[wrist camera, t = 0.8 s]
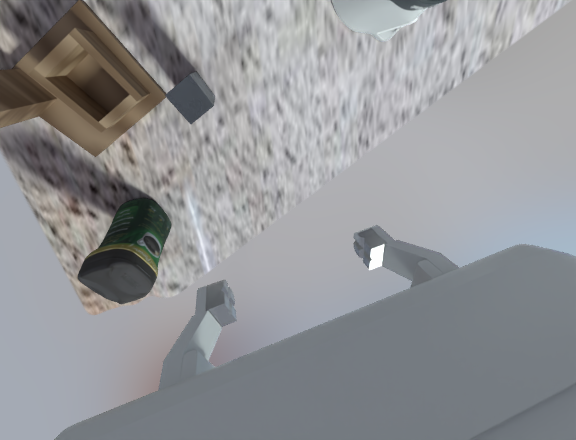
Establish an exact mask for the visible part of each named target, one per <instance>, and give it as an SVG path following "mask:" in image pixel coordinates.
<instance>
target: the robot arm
mask: <svg viewBox="0 0 576 440" xmlns="http://www.w3.org/2000/svg"><path fill="white" fill-rule="evenodd" d="M444 1H447V0H332V3H333V6H334V9H335V11H336V13H337V15H338V17H339V18H340V20H341V21H342V22H343V23H344V24H345V25H346V26H347V27H348V28H350V29H351V30H353V31H355V32H359V33H368V34H372V35H373V36H374V37H375V38H376V39H377V40H379V41H381V42H385V41H388V40H389V39H390V38H391V37H392V36H393V35H394V34H395V33H396V32H397V31H398V30H399V29H400V28H401V27H403V26H406V25H409V24H412V23H414V22H415V21H417V19H418V17H419V16H420V15H421V14H422V13H423V12H424V11H425V10H426V9H427V8H430V7H433V6H436V5H438V4H440V3H442V2H444ZM354 239H355V242H354V249H355V252H356V253H357V255H358V256H359V257H361V258H363V262H364V264H365V265H366V266H367V267H368V269H369V270H370V269H373V268H376V267H379V266H383V267H385V268H387V269H389V270H391V271H393V272H395V273H397V274H399V275H401V276H403V277H405V278H407V279H409V280H411V281H412V284H411V287H410V288H409V289H406V290H404V291H402V292H399V293H397V294H394V295H392V296H389V297H387V298H384V299H382V300H380V301H377V302H374V303H372V304H370V305H367V306H365V307H362V308H360V309H357V310H355V311H352V312H350V313H348V314H345V315H343V316H340V317H338V318H335V319H333V320H330V321H328V322H325V323H323V324H320V325H318V326H315V327H313V328H311V329H308V330H306V331H303V332H301V333H298V334H296V335H293V336H291V337H289V338H286V339H284V340H281V341H279V342H276V343H274V344H271V345H269V346H266V347H264V348H261V349H259V350H257V351H254V352H252V353H249V354H247V355H244V356H242V357H239V358H237V359H234V360H232V361H229V362H227V363H225V364H222V365H220V366H217V367H214V366H213V365H212V364H211V363H210V362H209V358H210V356H211V354H212V351H213V349H214V346H215V344H216V342H217V339H218V336H219V334H220V332H221V329H222V327H223V326H225V325H228V324H230V323H233V322H235V321H236V310H235V308H234V307H233V306H234V304H235V299H234V295H233V292H232V290H231V289H230V287H228V283H227V282H226V280H222V281H219V282H216V283H213V284H210V285H207V286H204V287H201V288H198V290H197V299H196V312H195V315H194V316H192V318H191V319H190V321H189V322H188V324H187V325H186V327H185V329H184V330H183V332H182V333H181V335H180V336H179V338H178V339H177V341H176V343H175V344H174V345H173V347H172V349H171V351H170V352H169V354H168V355H167V356H166V358H165V359H164V362H163V368H162V373H161V379H160V385H159V390H158V391H156V392H153V393H151V394H148V395H146V396H143V397H141V398H138V399H136V400H133V401H131V402H128V403H126V404H124V405H121V406H119V407H116V408H114V409H111V410H109V411H106V412H104V413H101V414H99V415H96V416H94V417H92V418H89V419H86V420H84V421H81V422H79V423H76V424H74V425H72V426H70V427H68V428H67V429H65V430H64V431H63V432H61V433H60V434H59V435H58V436H57V437H56V439H54V440H576V257H575V256H573V255H570V254H568V253H564V252H560V251H556V250H552V249H547V248H543V247H538V246H533V245H527V244H519V245H515V246H512V247H510V248H507V249H505V250H502V251H500V252H497V253H495V254H493V255H490V256H488V257H485V258H483V259H480V260H478V261H475V262H473V263H471V264H468V265H465V266H463V267H461V268H459V267H458V266H456V265H455V264H454V263H452V262H451V261H450V260H449V259H447V258H446V257H445V256H443V255H442V254H441V253H439V252H435V251H432V250H429V249H425V248H423V247H419V246H416V245H413V244H409V243H406V242H403V241H399V240H396V241H395V240H394V239H393V238H392V237H390V235H388V234H387V233H386V232H385V231H384V230H383V229H382V228H380V227H379V226H378V225H376V226H373V227H370V228H367V229H364V230H362V231H359V232H356V233H354Z"/></svg>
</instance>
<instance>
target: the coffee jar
mask: <svg viewBox="0 0 576 440" xmlns="http://www.w3.org/2000/svg"><path fill="white" fill-rule="evenodd" d="M170 229H171V221H170V220H169V218H168V216H167V215H166V213H165V212H164V211H163V210H162V208H161V207H160V206H159V205H158V204H157V203H156V202H154V201H153V200H150V199H146V198H140V199H135V200H131V201H128V202H126V203H124V204H122V205H121V206H120V208H119V209H118V211H117V213H116V215H115V217H114V219H113V221H112V224H111V226H110V228H109V230H108V232H107V234H106V236H105V238H104V240H103V242H102V243H101V245H100V246H99V247H98V249H96V250H94V251H93V252H91V253H90V254H89V255H88V256H87V257H86V258H85V260H84V262H83V264H82V267H81V269H80V271H79V274H78V279H79V281H80V282H81V283H82V284H84V285H85V286H87V287H88V288H90V289H91V290H93V291H94V292H96V293H98V294H99V295H101V296H103V297H104V298H106V299H108V300H111V301H114V302H117V303H119V304H124V303H128V302H131V301H135V300H137V299H140V298H143V297H145V296H146V295H147V294H148V293H149V292H150V290H151V289H152V287H153V285H154V283H155V281H156V278H157V274H158V262H159V258H160V255H161V252H162V249H163V247H164V244H165V242H166V239H167V237H168V235H169V232H170Z"/></svg>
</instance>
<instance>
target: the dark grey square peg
mask: <svg viewBox="0 0 576 440" xmlns="http://www.w3.org/2000/svg"><path fill="white" fill-rule="evenodd" d="M165 96H166V97H167V98H168V100H169V101H170V102H171V103H172V104H173V105H174V106H175V107H176V108H177V110H178V111H179V112H180V113H181V114H182V115H183V116H184V117H185V118H186V120H187V121H188V122H189V123H190V124H192V123H193V122H194V121H196V120H197V119H198V118H199V117H201V116H202V115H203V114H204V113H206V112H207V111H208V110H209V109H211V108H212V107H213V106H214V100H215V95H214V94H213V93H212V91H211V90H210V89H209V87H208V86H207V85H206V83H205V82H204V81H203V79H202V78H201V77H200V75H199V74H198V73H197V71H196V72H194V73H191V74H189V75H188V76H187V77H186V78H185V79H183V80H182V81H181V82H180V83H179V84H178V85H176V86H175V87H174V88H173V89H172V90H171V91H169V92H168V93H167V94H166V95H165Z"/></svg>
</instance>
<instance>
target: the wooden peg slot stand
mask: <svg viewBox="0 0 576 440" xmlns="http://www.w3.org/2000/svg"><path fill="white" fill-rule="evenodd" d="M165 95H166V93H165V92H164V91H163V89H162V88H161V87H160V86H159V85H158V84H157V83H156V82H155V80H154V79H153V78H152V77H151V76H150V75H149V74H148V73H147V71H146V70H145V69H144V68H143V67H142V66H141V65H140V64H139V62H138V61H137V60H136V59H135V58H134V57H133V56H132V55H131V54H130V52H129V51H128V50H127V49H126V48H125V47H124V46H123V45H122V43H121V42H120V41H119V40H118V39H117V38H116V37H115V36H114V34H113V33H112V32H111V31H110V30H109V29H108V28H107V27H106V25H105V24H104V23H103V22H102V21H101V20H100V19H99V18H98V16H97V15H96V14H95V13H94V12H93V11H92V10H91V9H90V7H89V6H88V5H87V4H86V3H85V2H84V1H82V0H79V1H78V2H77V3H76V4H75V5H74V6H73V7H72V8H71V9H70V10H69V11H68V12H67V13H66V14H65V15H64V16H63V17H62V18H61V19H60V20H59V21H58V22H57V23H56V24H55V25H54V26H53V27H52V28H51V29H50V30H49V31H48V32H47V33H46V34H45V35H44V36H43V37H42V38H41V39H40V40H39V41H38V43H37V44H36V45H35V46H34V47H33V48H32V49H31V50H30V51H29V52H28V53H27V54H26V55H25V56H24V57H23V58H22V59H21V60H20V61H19V62H18V63H17V64H16V65H15V66H14V67H13V68H12V69H8V70H0V128H2V127H5V126H8V125H12V124H15V123H18V122H22V121H25V120H28V119H32V118H35V117H38V116H40V117H41V118H42V119H44V120H45V121H46V122H48V123H49V124H51V125H52V126H53V127H55V128H56V129H57V130H59V131H60V132H62V133H63V134H64V135H66V136H67V137H68V138H70V139H71V140H73V141H74V142H75V143H77V144H78V145H79V146H81V147H82V148H84V149H85V150H86V151H88V152H89V153H90V154H92V155H93V156H95V157H96V156H98V155H99V154H100V153H101V152H102V151H104V150H105V149H106V148H107V147H108V146H109V145H111V144H112V143H113V142H114V141H115V140H116V139H118V138H119V137H120V136H121V135H122V134H123V133H125V132H126V131H127V130H128V129H129V128H131V127H132V126H133V125H134V124H135V123H136V122H138V121H139V120H140V119H141V118H142V117H143V116H145V115H146V114H147V113H148V112H149V111H150V110H152V109H153V108H154V107H155V106H156V105H158V104H159V103H160V102H161V101H162V100H163V99H165V98H166V96H165Z"/></svg>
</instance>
